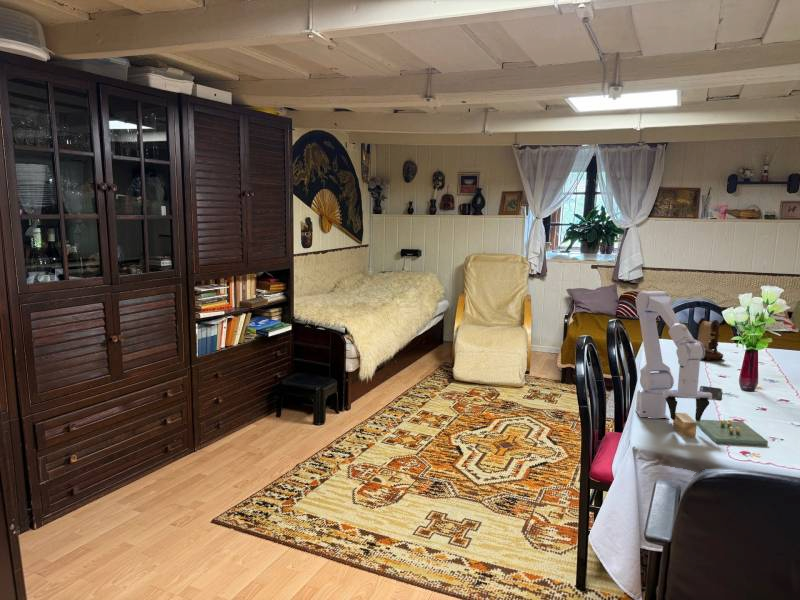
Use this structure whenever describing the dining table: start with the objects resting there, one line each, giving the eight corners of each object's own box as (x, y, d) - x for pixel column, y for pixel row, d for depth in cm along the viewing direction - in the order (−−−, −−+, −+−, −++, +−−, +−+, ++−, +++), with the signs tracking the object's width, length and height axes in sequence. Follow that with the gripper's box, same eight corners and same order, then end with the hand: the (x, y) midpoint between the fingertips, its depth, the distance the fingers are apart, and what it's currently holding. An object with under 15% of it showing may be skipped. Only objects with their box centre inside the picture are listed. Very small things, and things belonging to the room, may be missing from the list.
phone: (698, 395, 223) (700, 385, 236) (698, 398, 224) (700, 388, 236) (721, 398, 220) (722, 388, 232) (721, 401, 220) (722, 391, 232)
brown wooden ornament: (682, 356, 290) (685, 317, 287) (702, 353, 296) (706, 315, 293) (709, 363, 276) (712, 322, 273) (729, 360, 282) (733, 320, 280)
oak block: (682, 437, 183) (683, 422, 182) (672, 426, 192) (673, 412, 191) (695, 437, 183) (696, 422, 182) (685, 427, 191) (686, 413, 191)
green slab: (715, 442, 178) (716, 432, 177) (695, 423, 195) (696, 413, 194) (767, 445, 176) (768, 435, 175) (742, 426, 193) (743, 416, 192)
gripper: (668, 381, 182) (665, 422, 184) (717, 383, 180) (713, 425, 182) (661, 375, 189) (658, 415, 190) (708, 377, 187) (705, 417, 189)
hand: (685, 419), depth 186 cm, fingers open, 7 cm apart
